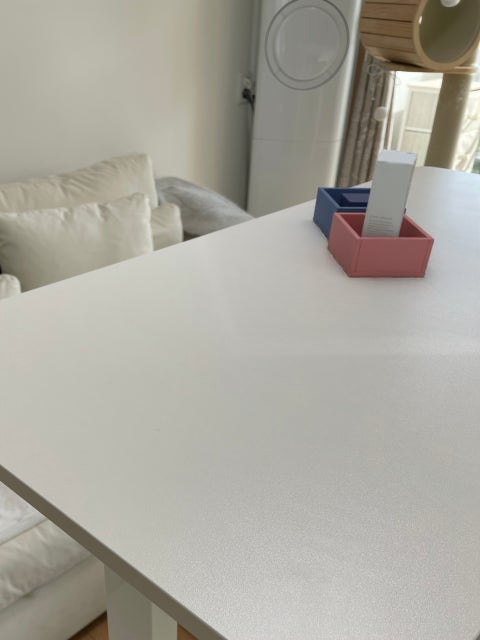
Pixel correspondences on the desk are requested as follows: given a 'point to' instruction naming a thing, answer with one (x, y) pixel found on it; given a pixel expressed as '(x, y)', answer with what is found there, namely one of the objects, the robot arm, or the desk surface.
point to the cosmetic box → (389, 193)
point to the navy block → (354, 200)
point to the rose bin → (379, 248)
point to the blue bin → (334, 206)
